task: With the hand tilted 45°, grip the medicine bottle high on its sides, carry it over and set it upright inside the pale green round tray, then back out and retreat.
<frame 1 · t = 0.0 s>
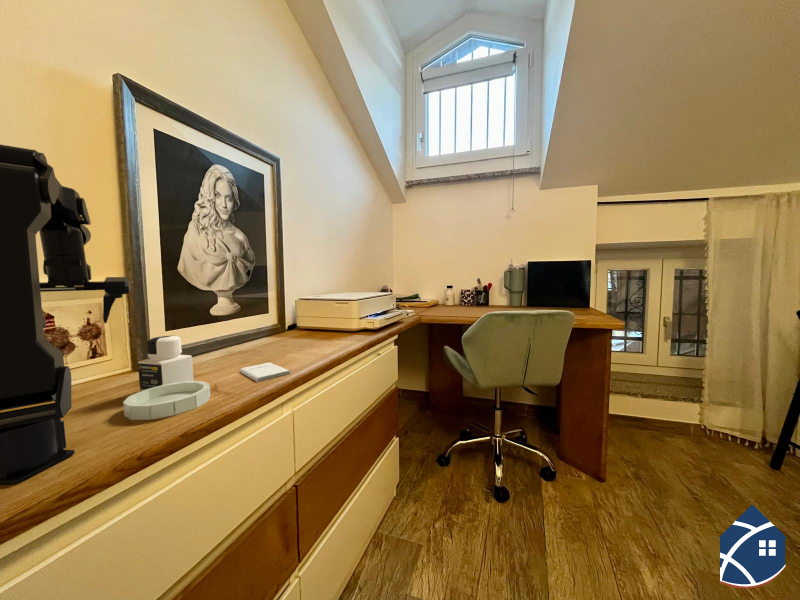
hand: (76, 324, 65), 15 cm above the cabinet, tool pointing down, fingers open, 9 cm apart
external hard drive: (264, 375, 78), on the cabinet
pale green round tray: (170, 404, 59), on the cabinet
medicine bottle: (168, 389, 68), on the cabinet
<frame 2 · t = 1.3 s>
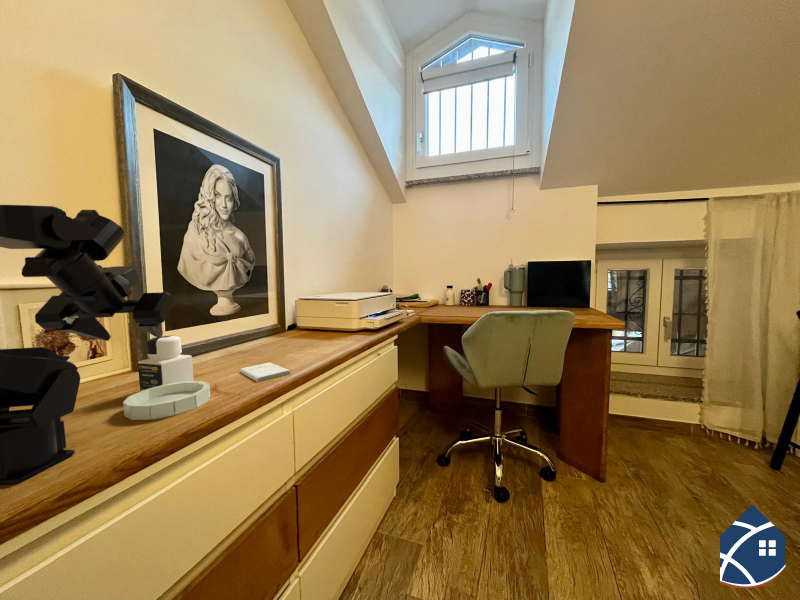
hand: (135, 337, 59), 13 cm above the cabinet, tool tilted 45°, fingers open, 9 cm apart
nothing on the cabinet moved.
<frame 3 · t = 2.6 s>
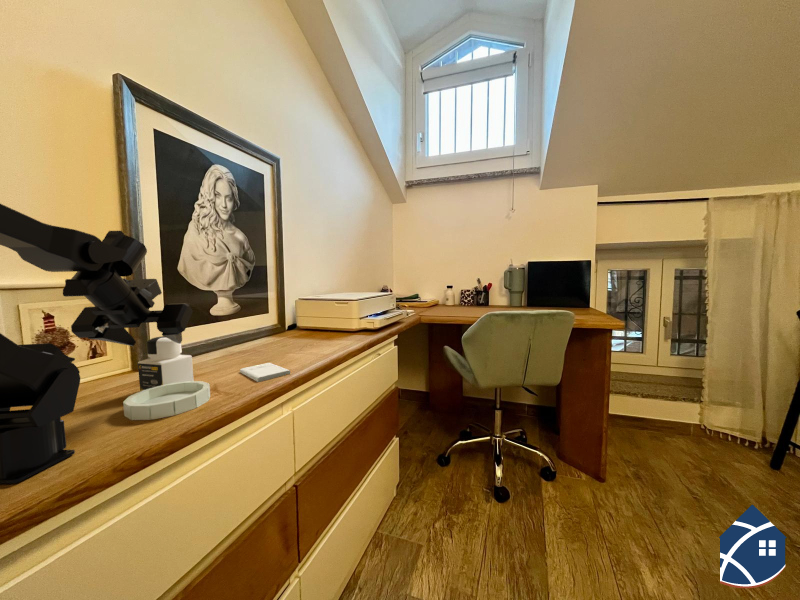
hand: (157, 342, 65), 11 cm above the cabinet, tool tilted 45°, fingers open, 9 cm apart
nothing on the cabinet moved.
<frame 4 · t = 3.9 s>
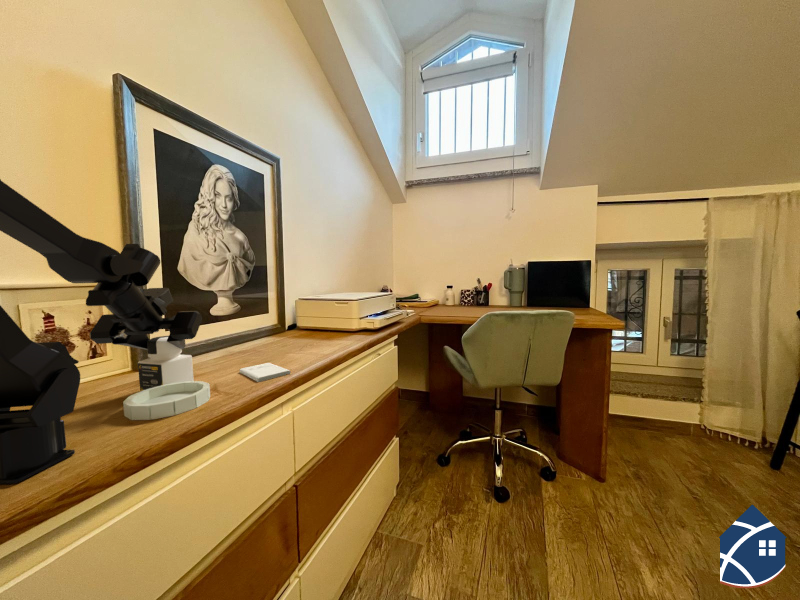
hand: (168, 348, 69), 9 cm above the cabinet, tool tilted 45°, fingers closed on medicine bottle, 6 cm apart
medicine bottle: (168, 389, 68), on the cabinet, touching gripper
everything else where it was.
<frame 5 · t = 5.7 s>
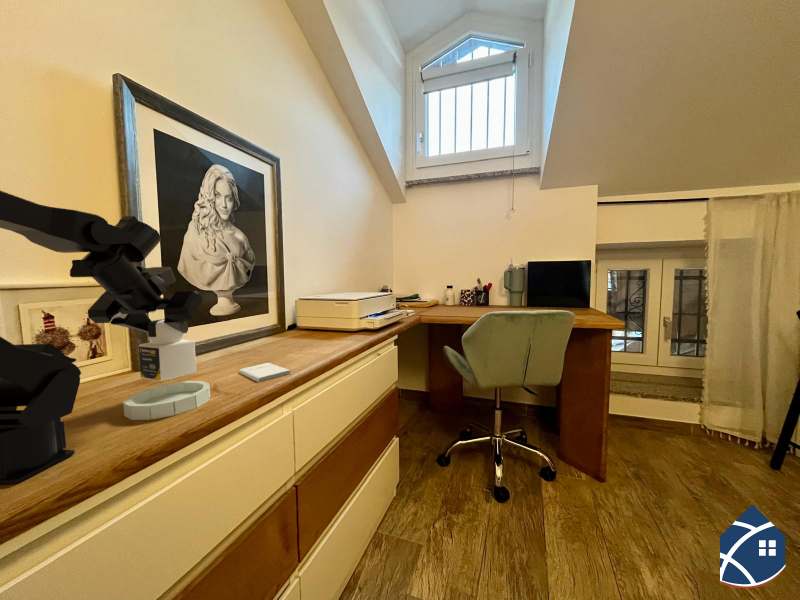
hand: (171, 332, 65), 13 cm above the cabinet, tool tilted 45°, fingers closed on medicine bottle, 6 cm apart
medicine bottle: (169, 376, 64), point 4 cm above the cabinet, touching gripper
everything else where it was.
when the fingers open (10 cm above the cabinet, at t = 7.3 s): medicine bottle stays where it is, resting on pale green round tray.
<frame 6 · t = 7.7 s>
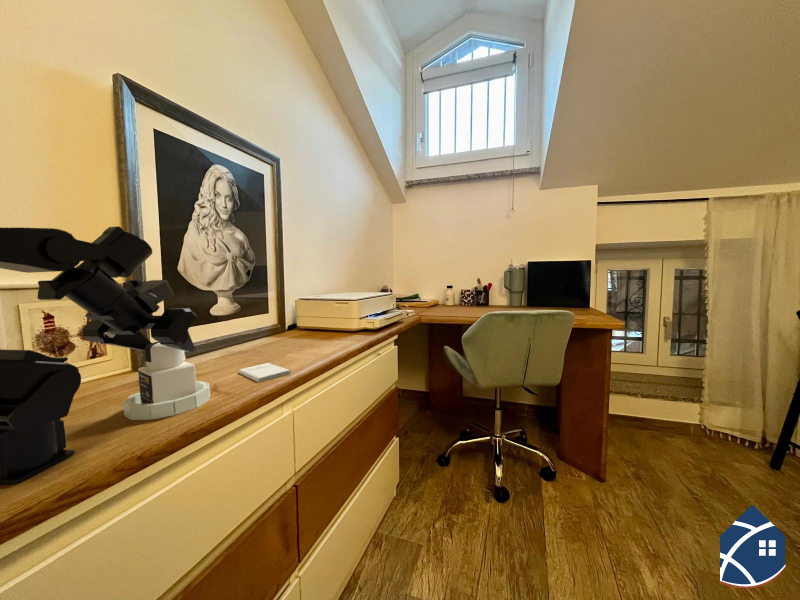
hand: (173, 350, 59), 11 cm above the cabinet, tool tilted 45°, fingers open, 9 cm apart
medicine bottle: (169, 403, 59), resting on pale green round tray
everything else where it was.
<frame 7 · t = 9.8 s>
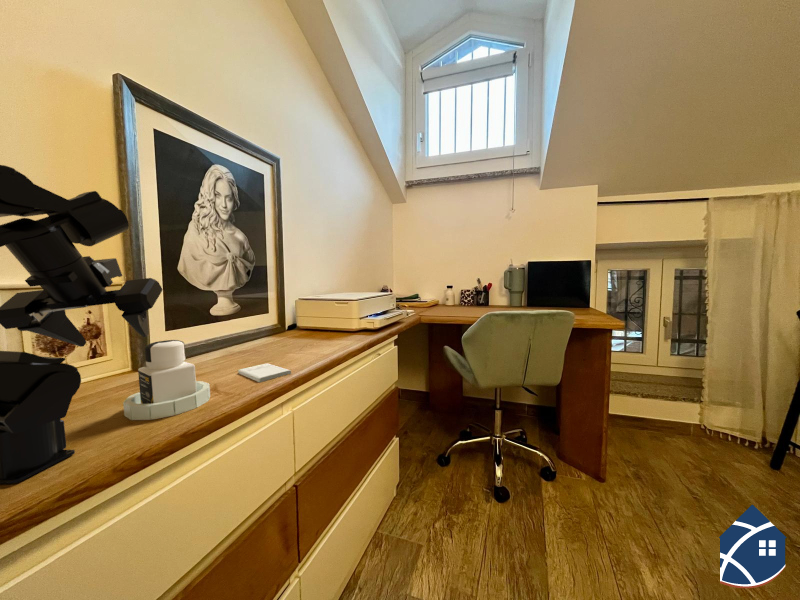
hand: (115, 339, 52), 14 cm above the cabinet, tool tilted 35°, fingers open, 9 cm apart
nothing on the cabinet moved.
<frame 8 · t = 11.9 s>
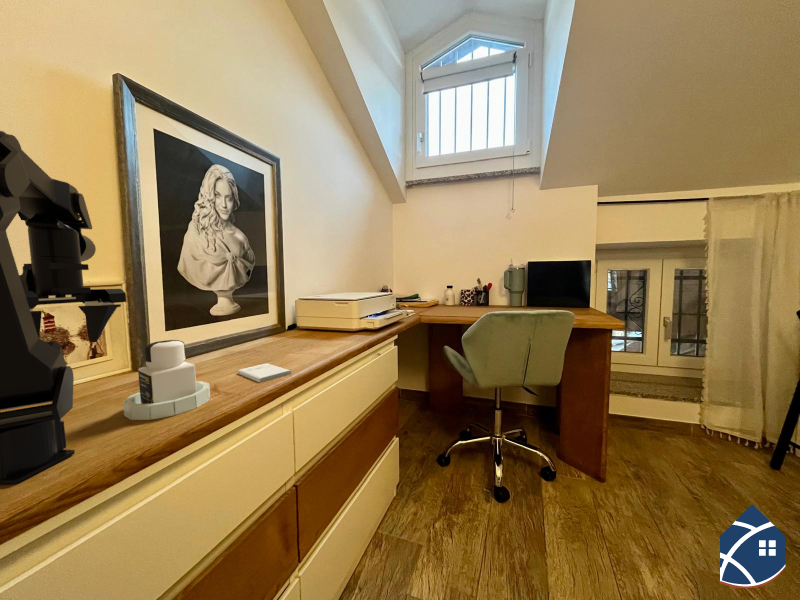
hand: (65, 347, 52), 13 cm above the cabinet, tool pointing down, fingers open, 9 cm apart
nothing on the cabinet moved.
at the end: medicine bottle 0.2 cm off-centre on the pale green round tray, point 0.4 cm above the pale green round tray's base; medicine bottle tilted 0°; the gripper is holding nothing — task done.
